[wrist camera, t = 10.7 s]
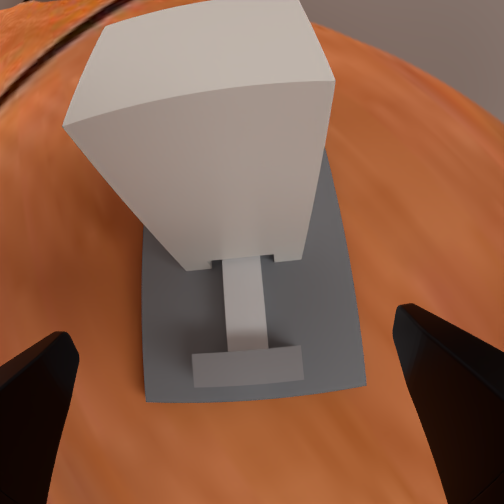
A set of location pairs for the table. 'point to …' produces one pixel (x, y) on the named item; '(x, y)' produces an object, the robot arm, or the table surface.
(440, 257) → the table surface
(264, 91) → the block
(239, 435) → the table surface
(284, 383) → the rail plate
